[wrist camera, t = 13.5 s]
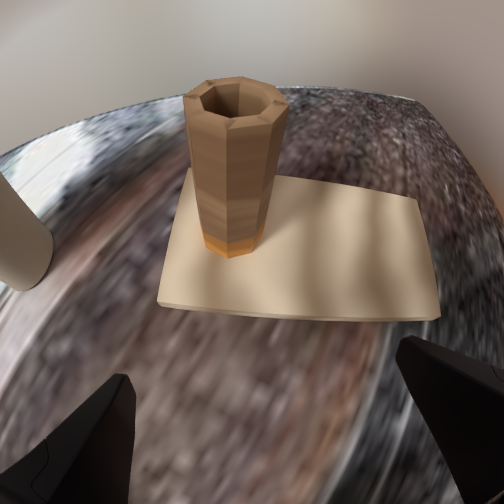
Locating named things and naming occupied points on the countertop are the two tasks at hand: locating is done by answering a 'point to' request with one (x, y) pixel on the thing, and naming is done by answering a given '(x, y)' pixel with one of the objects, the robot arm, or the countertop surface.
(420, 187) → the countertop surface
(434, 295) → the pin board
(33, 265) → the travel mug
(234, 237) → the sleeve
